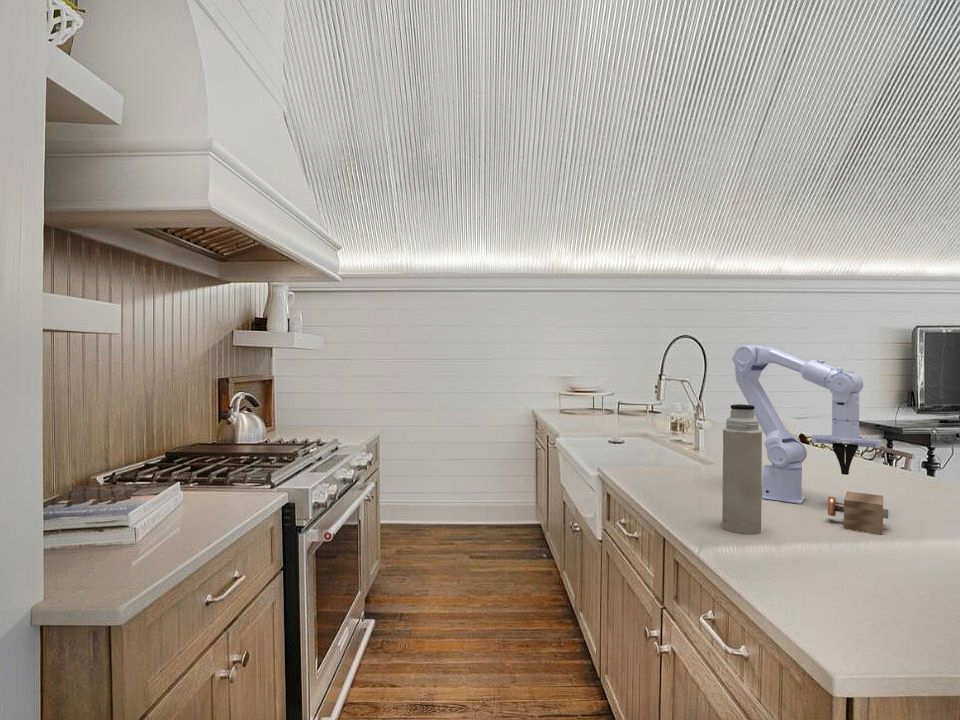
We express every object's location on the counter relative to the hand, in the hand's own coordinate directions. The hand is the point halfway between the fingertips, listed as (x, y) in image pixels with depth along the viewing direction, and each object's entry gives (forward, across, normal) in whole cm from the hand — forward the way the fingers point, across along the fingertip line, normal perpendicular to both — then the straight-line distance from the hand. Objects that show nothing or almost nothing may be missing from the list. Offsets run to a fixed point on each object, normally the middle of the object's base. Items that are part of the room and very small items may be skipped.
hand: (845, 474), depth 140 cm
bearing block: (+9, +4, -12) cm, 16 cm away
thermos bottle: (+10, -17, -32) cm, 37 cm away
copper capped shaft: (+8, +3, -12) cm, 15 cm away
